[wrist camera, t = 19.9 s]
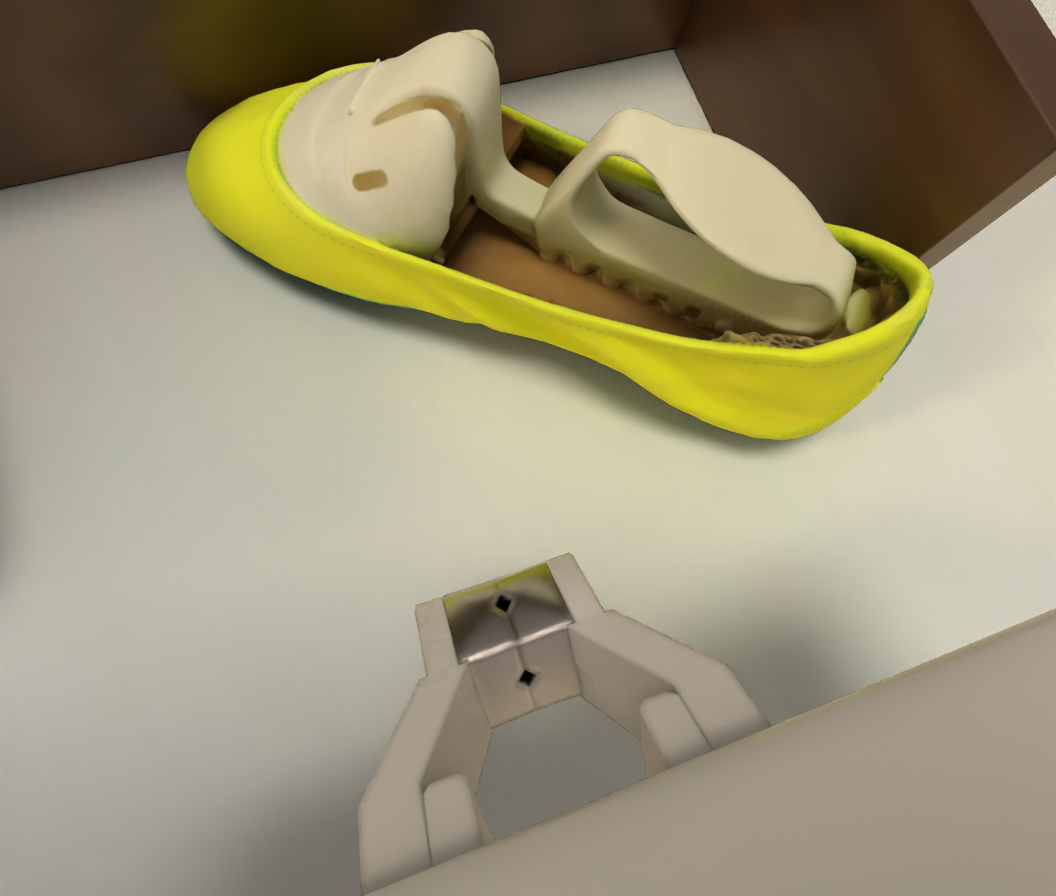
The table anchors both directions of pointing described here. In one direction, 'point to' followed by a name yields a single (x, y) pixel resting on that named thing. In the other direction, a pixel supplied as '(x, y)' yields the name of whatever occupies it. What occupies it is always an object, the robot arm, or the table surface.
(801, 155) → the wooden shelf
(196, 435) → the table surface
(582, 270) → the ballet flat
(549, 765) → the table surface
